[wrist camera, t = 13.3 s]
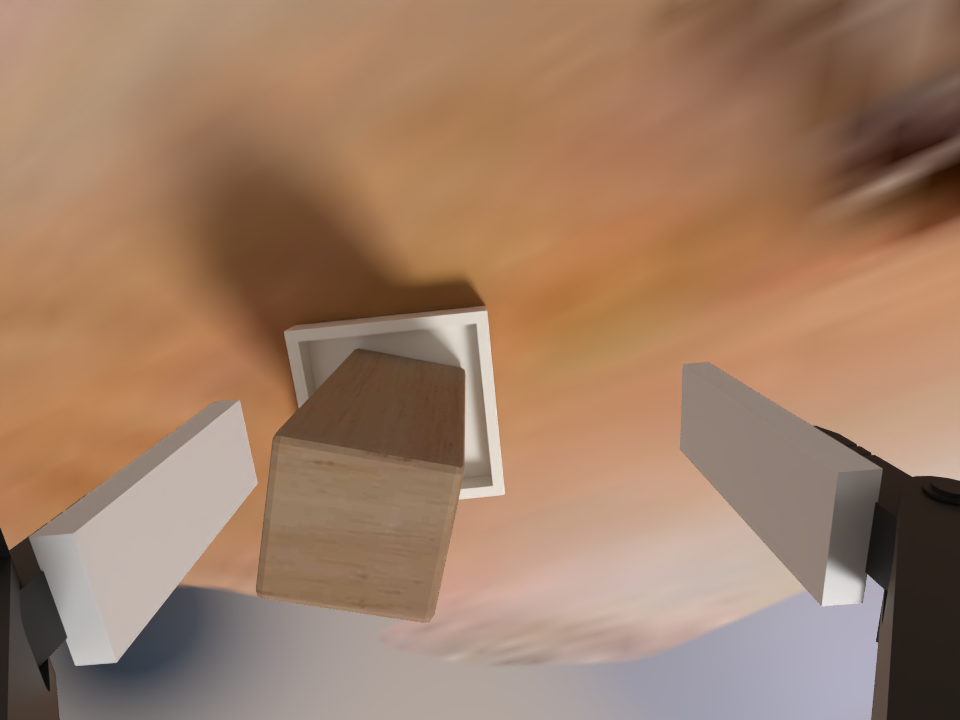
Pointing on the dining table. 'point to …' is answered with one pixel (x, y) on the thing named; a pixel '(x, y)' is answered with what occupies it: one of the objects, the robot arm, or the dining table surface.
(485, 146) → the dining table surface
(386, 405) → the wooden block
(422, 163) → the dining table surface
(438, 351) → the dish
